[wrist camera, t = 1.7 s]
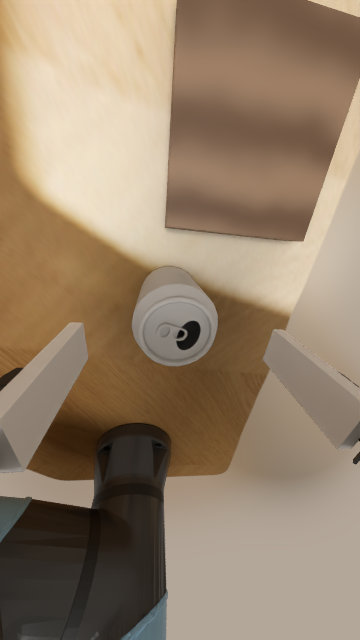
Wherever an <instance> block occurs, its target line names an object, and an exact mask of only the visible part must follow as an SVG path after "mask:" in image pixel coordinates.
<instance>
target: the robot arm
mask: <svg viewBox="0 0 360 640" xmlns="http://www.w3.org/2000/svg"><path fill="white" fill-rule="evenodd" d="M87 360H88V352H87V345H86V339H85V332H84V326H83V323H73V322H70V323H69V324H68V325H67V326H66V327H65V328H64V329H63V330H62V331H61V332H60V333H59V334H58V335H57V336H56V337H55V338H54V339H53V340H52V341H51V342H50V343H49V344H48V345H47V346H46V347H45V348H44V349H43V350H42V351H41V352H40V353H39V354H38V355H37V356H36V357H35V358H34V359H33V360H32V361H31V362H30V363H29V364H28V365H27V366H26V367H25V368H15V369H14V370H12V371H10V372H9V373H7V374H5V375H3V376H2V377H1V378H0V473H9V472H23V471H25V469H26V467H27V465H28V464H29V462H30V460H31V458H32V457H33V455H34V453H35V451H36V450H37V448H38V446H39V444H40V443H41V441H42V439H43V437H44V436H45V434H46V432H47V430H48V428H49V427H50V425H51V423H52V421H53V420H54V418H55V416H56V414H57V413H58V411H59V409H60V407H61V406H62V404H63V402H64V400H65V399H66V397H67V395H68V393H69V392H70V390H71V388H72V386H73V385H74V383H75V381H76V379H77V377H78V376H79V374H80V372H81V370H82V369H83V367H84V365H85V363H86V362H87ZM263 361H264V362H265V363H266V364H267V366H268V367H269V368H270V369H271V370H272V372H273V373H274V374H275V375H276V376H277V378H278V379H279V380H280V381H281V382H282V384H283V385H284V386H285V387H286V388H287V389H288V391H289V392H290V393H291V394H292V396H293V397H294V398H295V399H296V401H297V402H298V403H299V404H300V405H301V407H302V408H303V409H304V410H305V411H306V413H307V414H308V415H309V416H310V417H311V419H312V420H313V421H314V422H315V423H316V425H317V426H318V427H319V428H320V429H321V431H322V432H323V433H324V434H325V435H326V437H327V438H328V439H329V440H330V442H331V443H332V444H333V445H334V446H335V448H336V449H337V450H340V449H352V448H353V446H354V445H355V444H356V443H357V442H358V440H359V441H360V388H359V386H357V385H356V384H355V383H353V382H351V380H349V379H348V378H347V377H345V376H344V375H343V374H341V373H339V372H338V371H336V370H335V369H334V368H332V367H331V366H330V365H329V364H327V363H326V362H325V361H323V360H322V359H321V358H319V357H318V356H317V355H315V354H314V353H313V352H312V351H310V350H309V349H308V348H306V347H305V346H304V345H302V344H301V343H300V342H298V341H297V340H296V339H295V338H293V337H292V336H291V335H289V334H288V333H287V332H285V331H284V330H278V329H274V330H273V332H272V335H271V338H270V341H269V344H268V346H267V349H266V352H265V355H264V358H263ZM170 458H171V444H170V439H169V437H168V435H167V434H166V433H165V432H164V431H162V430H161V429H159V428H157V427H154V426H151V425H145V424H129V425H123V426H120V427H117V428H114V429H112V430H110V431H108V432H107V433H106V434H104V435H103V436H102V437H101V439H100V440H99V442H98V445H97V448H96V452H95V455H94V499H93V503H92V507H91V508H85V507H79V506H73V505H67V504H60V503H54V502H47V501H41V500H35V499H32V498H31V497H26V498H14V497H4V496H0V640H166V607H167V605H166V603H167V602H166V601H167V598H168V597H167V596H168V592H167V589H166V565H165V529H164V499H163V498H164V496H163V494H164V493H163V492H164V485H165V481H166V477H167V472H168V467H169V463H170ZM358 461H360V452H359V453H358V454H357V455H356V457H355V458H354V459H353V463H354V464H357V463H358Z"/></svg>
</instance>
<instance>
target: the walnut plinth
mask: <svg viewBox="0 0 360 640" xmlns="http://www.w3.org/2000/svg"><path fill="white" fill-rule="evenodd" d="M359 78H360V17H356V16H353V15H350V14H347V13H344V12H341V11H338V10H335V9H332V8H329V7H326V6H323V5H320V4H317V3H314V2H311V1H308V0H177V8H176V25H175V45H174V64H173V84H172V103H171V123H170V142H169V162H168V181H167V201H166V220H165V228H173V229H182V230H192V231H201V232H210V233H219V234H228V235H237V236H247V237H256V238H265V239H274V240H283V241H304V238H305V235H306V232H307V229H308V226H309V223H310V220H311V218H312V215H313V212H314V209H315V206H316V203H317V200H318V197H319V194H320V191H321V189H322V186H323V183H324V180H325V177H326V174H327V171H328V168H329V165H330V162H331V160H332V157H333V154H334V151H335V148H336V145H337V142H338V139H339V136H340V133H341V131H342V128H343V125H344V122H345V119H346V116H347V113H348V110H349V107H350V104H351V102H352V99H353V96H354V93H355V90H356V87H357V84H358V81H359Z"/></svg>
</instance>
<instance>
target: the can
mask: <svg viewBox="0 0 360 640" xmlns="http://www.w3.org/2000/svg"><path fill="white" fill-rule="evenodd" d="M217 328H218V314H217V312H216V309H215V306H214V303H213V302H212V301H211V300H210V299H209V298H208V296H207V295H206V294H205V293H204V292H203V290H202V289H201V288H200V287H199V286H198V284H197V283H196V282H195V281H194V280H193V279H192V277H191V276H190V275H189V274H188V273H187V272H185V271H184V270H182V269H181V268H177V267H173V266H167V267H161V268H158V269H156V270H154V271H152V272H151V273H150V274H149V275H148V276H147V277H146V279H145V281H144V283H143V285H142V287H141V291H140V294H139V297H138V300H137V303H136V307H135V310H134V313H133V320H132V330H133V335H134V338H135V340H136V342H137V343H138V345H139V346H140V348H141V349H142V350H143V351H144V353H145V354H146V355H147V356H148V357H150V358H151V359H152V360H153V361H155V362H158V363H160V364H163V365H167V366H182V365H187V364H190V363H192V362H194V361H197V360H198V359H200V358H201V357H202V356H203V355H205V354H206V353H207V351H208V350H209V349H210V347H211V346H212V344H213V341H214V339H215V336H216V331H217Z"/></svg>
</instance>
